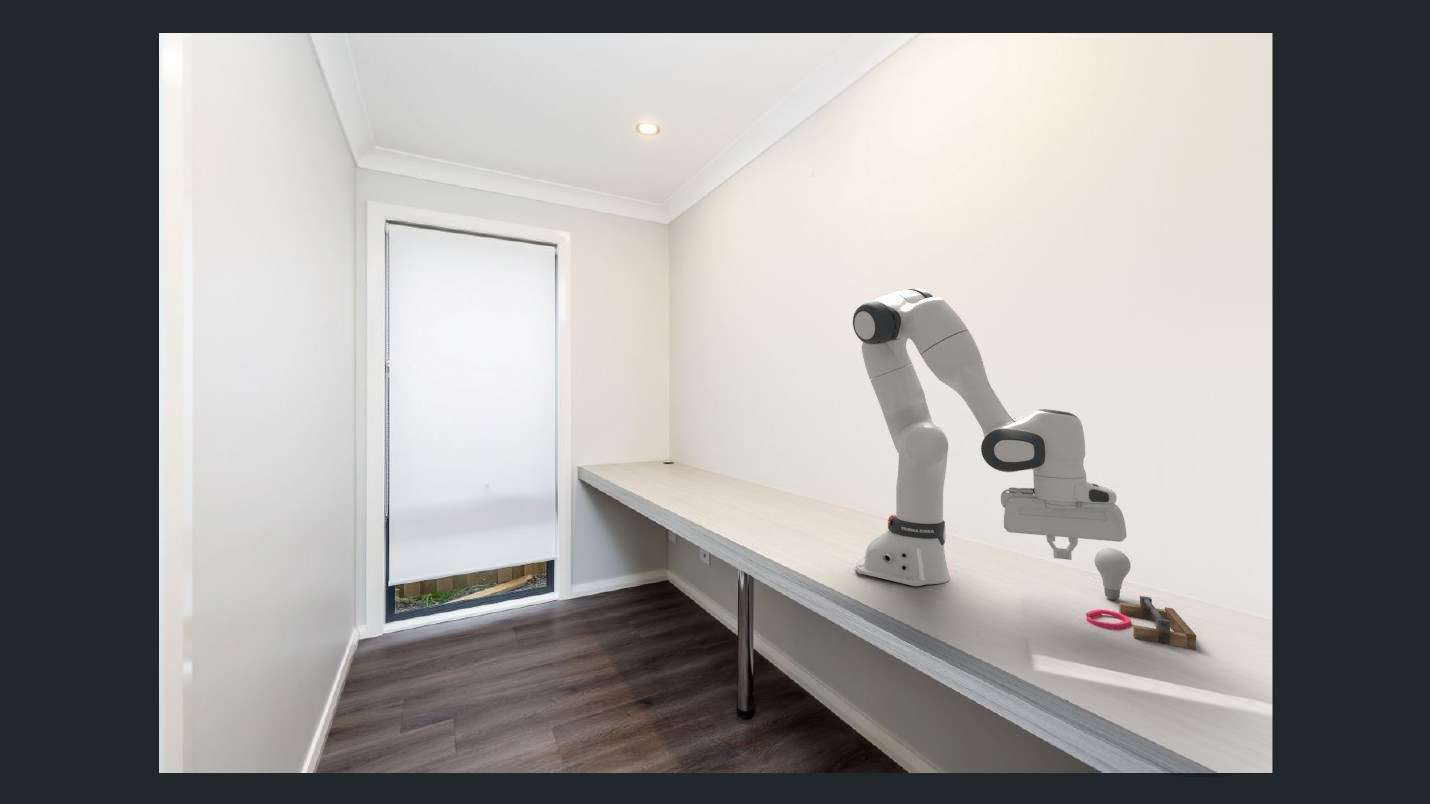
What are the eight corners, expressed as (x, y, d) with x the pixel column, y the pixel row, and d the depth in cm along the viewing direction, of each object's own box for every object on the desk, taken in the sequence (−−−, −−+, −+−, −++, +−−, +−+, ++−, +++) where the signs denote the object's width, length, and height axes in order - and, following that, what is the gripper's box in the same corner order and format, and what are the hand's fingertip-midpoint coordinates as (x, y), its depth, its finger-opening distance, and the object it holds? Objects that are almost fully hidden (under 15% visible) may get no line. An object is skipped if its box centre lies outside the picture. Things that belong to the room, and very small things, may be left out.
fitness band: (1104, 614, 101) (1104, 606, 101) (1138, 626, 96) (1138, 618, 96) (1079, 621, 98) (1079, 613, 98) (1112, 633, 93) (1112, 625, 93)
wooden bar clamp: (1134, 638, 90) (1135, 616, 90) (1119, 612, 101) (1119, 592, 101) (1196, 649, 86) (1196, 626, 86) (1172, 621, 97) (1172, 600, 97)
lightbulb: (1137, 606, 104) (1137, 554, 104) (1104, 604, 105) (1104, 552, 105) (1119, 595, 110) (1119, 545, 110) (1088, 593, 111) (1088, 544, 111)
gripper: (1000, 489, 103) (1002, 556, 103) (1126, 495, 93) (1129, 569, 93) (1000, 484, 108) (1002, 548, 108) (1119, 489, 98) (1122, 560, 98)
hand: (1062, 558), depth 100 cm, fingers closed
